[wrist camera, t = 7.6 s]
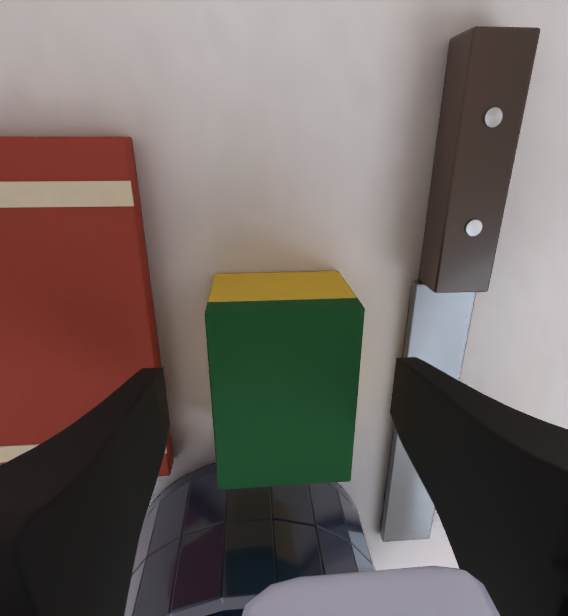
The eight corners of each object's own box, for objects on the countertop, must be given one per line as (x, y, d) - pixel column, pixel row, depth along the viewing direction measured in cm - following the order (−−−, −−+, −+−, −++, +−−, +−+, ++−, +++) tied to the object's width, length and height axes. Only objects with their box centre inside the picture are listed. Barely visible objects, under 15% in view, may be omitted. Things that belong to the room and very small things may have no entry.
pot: (152, 623, 20) (120, 786, 15) (122, 464, 16) (66, 610, 11) (353, 606, 21) (387, 756, 16) (369, 449, 17) (421, 581, 12)
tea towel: (17, 469, 16) (5, 487, 15) (-88, 136, 11) (-113, 136, 11) (173, 461, 16) (170, 477, 16) (132, 136, 12) (124, 136, 11)
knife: (380, 534, 19) (390, 565, 18) (442, 37, 12) (468, 24, 10) (426, 531, 19) (439, 561, 18) (516, 39, 12) (551, 26, 10)
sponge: (223, 421, 16) (218, 490, 13) (214, 273, 14) (204, 312, 11) (330, 415, 16) (351, 481, 13) (338, 270, 14) (365, 308, 11)
